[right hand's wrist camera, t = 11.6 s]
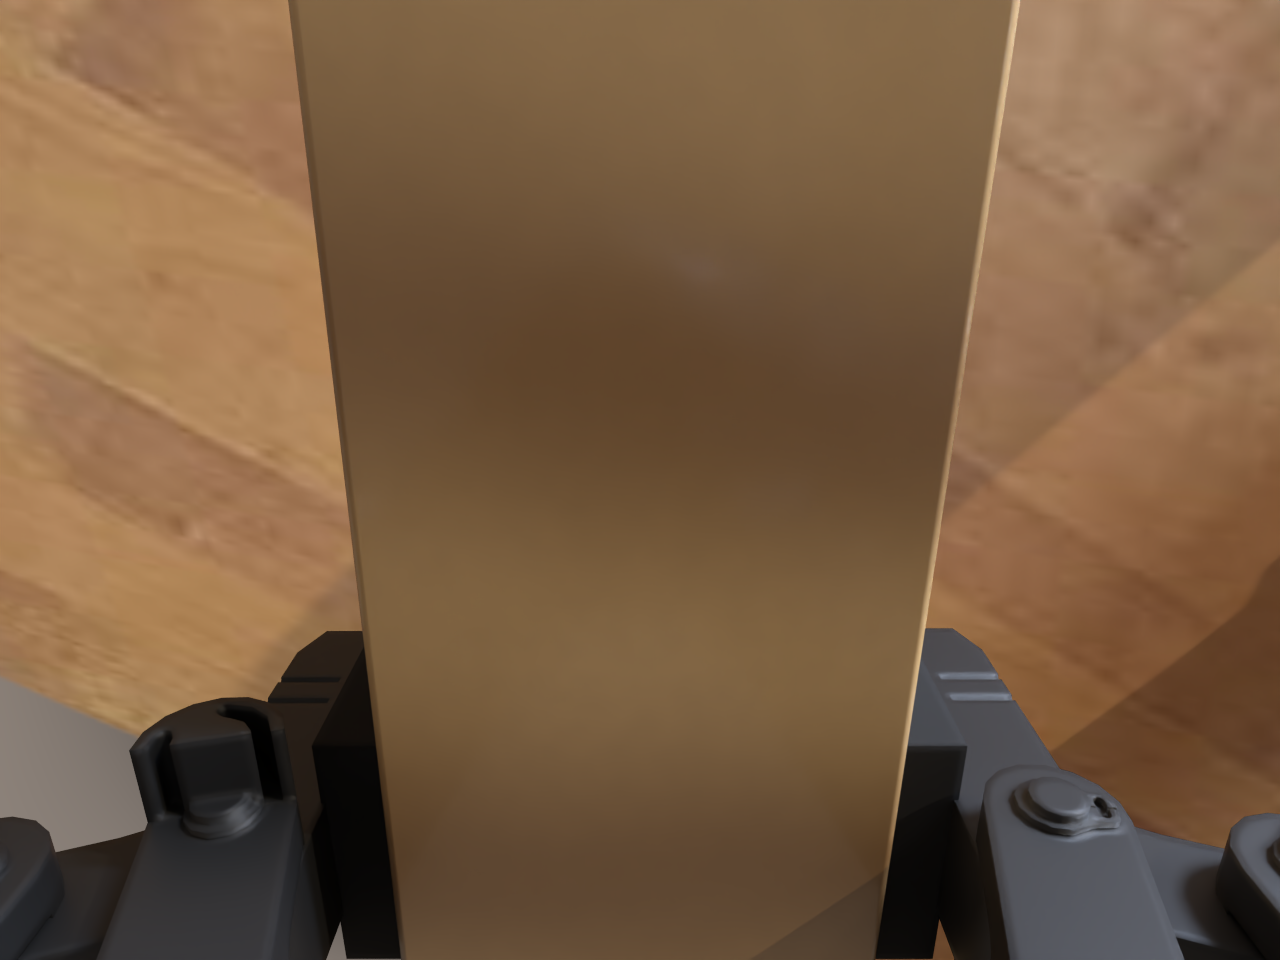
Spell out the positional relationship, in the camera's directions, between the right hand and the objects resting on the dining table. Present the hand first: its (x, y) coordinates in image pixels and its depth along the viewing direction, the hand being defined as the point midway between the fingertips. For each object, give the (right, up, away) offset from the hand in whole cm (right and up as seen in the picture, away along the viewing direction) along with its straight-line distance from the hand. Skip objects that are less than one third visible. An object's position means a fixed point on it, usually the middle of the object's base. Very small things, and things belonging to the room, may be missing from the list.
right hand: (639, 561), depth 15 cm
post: (0, +20, -7) cm, 22 cm away
